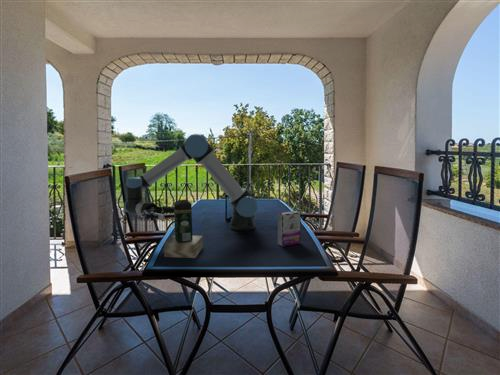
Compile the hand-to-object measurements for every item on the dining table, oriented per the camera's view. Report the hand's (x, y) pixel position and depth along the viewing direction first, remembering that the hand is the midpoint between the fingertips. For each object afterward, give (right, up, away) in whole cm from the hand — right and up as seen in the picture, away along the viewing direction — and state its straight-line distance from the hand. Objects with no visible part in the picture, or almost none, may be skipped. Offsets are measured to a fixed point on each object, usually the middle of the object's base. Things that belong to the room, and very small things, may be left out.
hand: (175, 214), depth 144 cm
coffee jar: (+4, -12, -1) cm, 12 cm away
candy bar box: (+55, -16, +12) cm, 58 cm away
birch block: (+4, -17, -1) cm, 18 cm away
